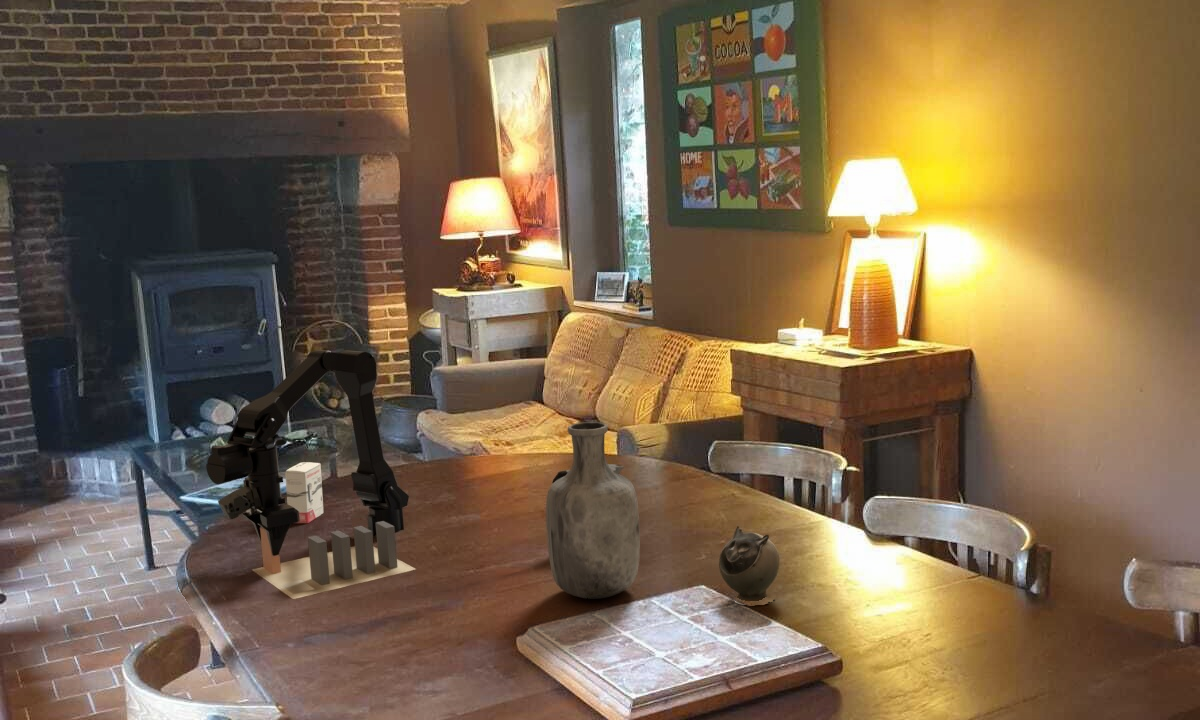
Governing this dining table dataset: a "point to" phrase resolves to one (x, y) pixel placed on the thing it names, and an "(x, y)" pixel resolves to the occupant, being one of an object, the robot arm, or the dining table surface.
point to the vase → (592, 521)
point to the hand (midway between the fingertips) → (270, 552)
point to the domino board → (300, 584)
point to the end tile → (269, 554)
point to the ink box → (305, 490)
